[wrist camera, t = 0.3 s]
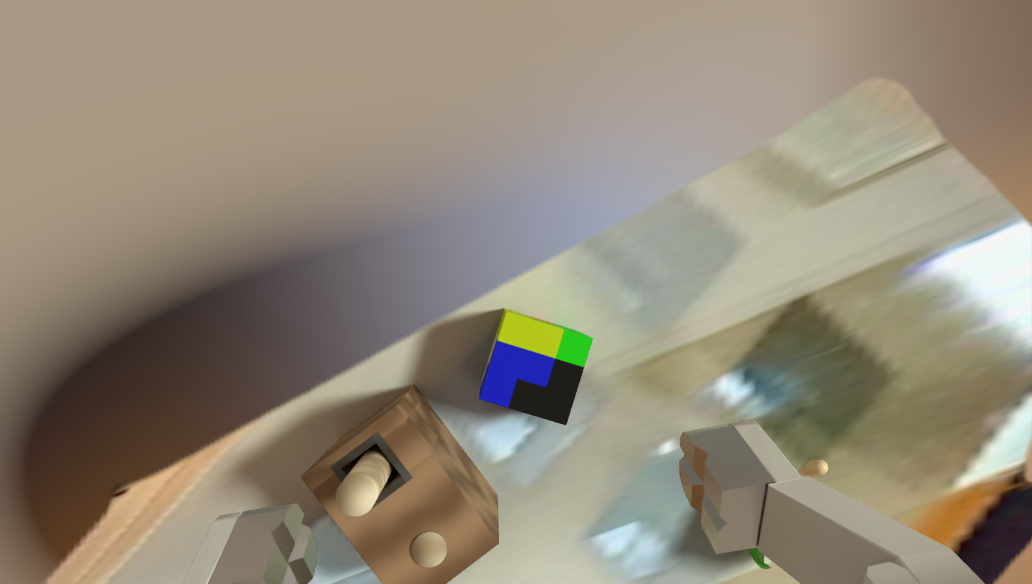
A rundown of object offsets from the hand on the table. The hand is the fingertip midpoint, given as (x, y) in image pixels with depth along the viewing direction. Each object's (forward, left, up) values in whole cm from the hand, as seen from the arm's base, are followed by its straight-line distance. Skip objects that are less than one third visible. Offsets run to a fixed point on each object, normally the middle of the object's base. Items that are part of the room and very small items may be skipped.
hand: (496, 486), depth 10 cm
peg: (-4, +19, -46) cm, 50 cm away
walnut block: (-9, +19, -53) cm, 57 cm away
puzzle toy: (-6, -1, -53) cm, 53 cm away
